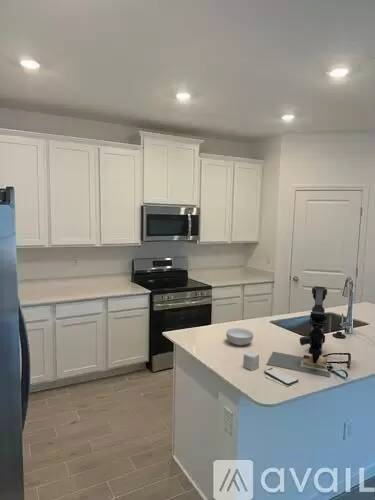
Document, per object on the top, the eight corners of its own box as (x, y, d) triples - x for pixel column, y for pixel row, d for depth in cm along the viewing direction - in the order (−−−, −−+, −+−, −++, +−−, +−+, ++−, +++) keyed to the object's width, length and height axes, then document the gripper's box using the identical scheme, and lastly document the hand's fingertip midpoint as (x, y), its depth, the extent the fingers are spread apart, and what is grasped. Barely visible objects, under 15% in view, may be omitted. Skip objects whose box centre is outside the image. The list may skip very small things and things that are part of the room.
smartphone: (299, 382, 168) (274, 369, 181) (299, 379, 168) (275, 366, 181) (287, 387, 163) (262, 373, 177) (287, 384, 163) (263, 370, 176)
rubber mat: (272, 352, 203) (272, 351, 203) (331, 362, 190) (331, 361, 190) (266, 364, 186) (266, 363, 186) (330, 377, 173) (330, 376, 173)
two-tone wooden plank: (326, 363, 185) (327, 358, 185) (326, 367, 180) (326, 362, 180) (303, 359, 190) (303, 354, 189) (302, 362, 185) (303, 357, 185)
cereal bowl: (224, 346, 211) (224, 335, 210) (227, 337, 227) (227, 327, 226) (252, 349, 207) (252, 338, 206) (253, 340, 223) (253, 329, 222)
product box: (259, 367, 183) (259, 354, 182) (252, 371, 178) (253, 357, 178) (249, 363, 187) (250, 351, 186) (242, 367, 183) (243, 353, 182)
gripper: (302, 326, 195) (301, 352, 197) (299, 336, 178) (297, 365, 180) (323, 329, 190) (321, 356, 192) (322, 340, 173) (320, 369, 175)
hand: (314, 361), depth 185 cm, fingers closed on two-tone wooden plank, 5 cm apart
